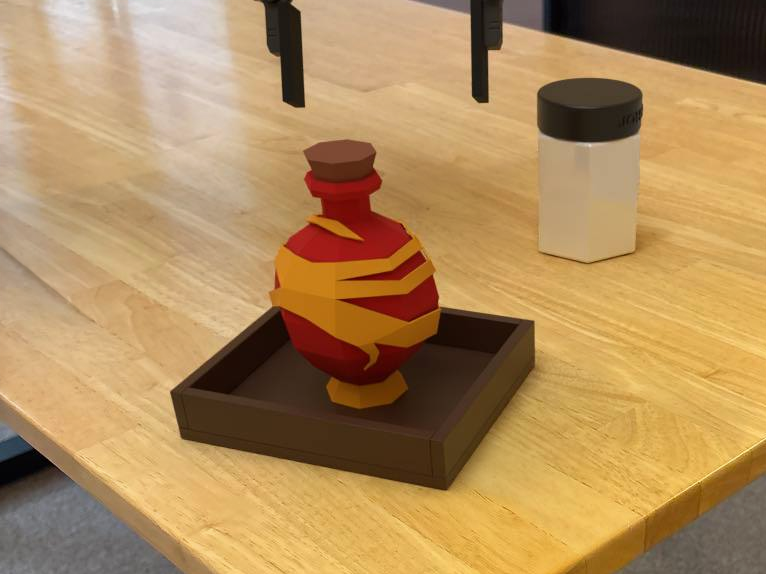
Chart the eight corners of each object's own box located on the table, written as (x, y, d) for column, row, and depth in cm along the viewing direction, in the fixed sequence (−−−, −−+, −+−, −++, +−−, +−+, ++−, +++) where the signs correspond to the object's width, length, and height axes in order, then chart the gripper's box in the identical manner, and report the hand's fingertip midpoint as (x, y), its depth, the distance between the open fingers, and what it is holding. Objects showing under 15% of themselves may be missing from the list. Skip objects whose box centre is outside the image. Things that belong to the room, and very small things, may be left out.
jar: (639, 264, 86) (647, 108, 79) (536, 264, 86) (536, 108, 79) (632, 221, 93) (640, 75, 86) (538, 221, 93) (537, 75, 86)
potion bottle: (255, 385, 70) (210, 149, 61) (386, 335, 75) (364, 112, 66) (346, 450, 63) (311, 199, 54) (482, 391, 69) (472, 153, 60)
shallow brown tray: (180, 438, 66) (169, 391, 64) (304, 327, 78) (297, 284, 76) (446, 490, 62) (442, 441, 60) (535, 364, 73) (534, 320, 71)
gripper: (565, -220, 75) (565, 107, 79) (219, -199, 78) (238, 115, 82) (554, -276, 67) (554, 87, 72) (172, -251, 70) (196, 97, 75)
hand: (386, 102), depth 77 cm, fingers open, 13 cm apart
